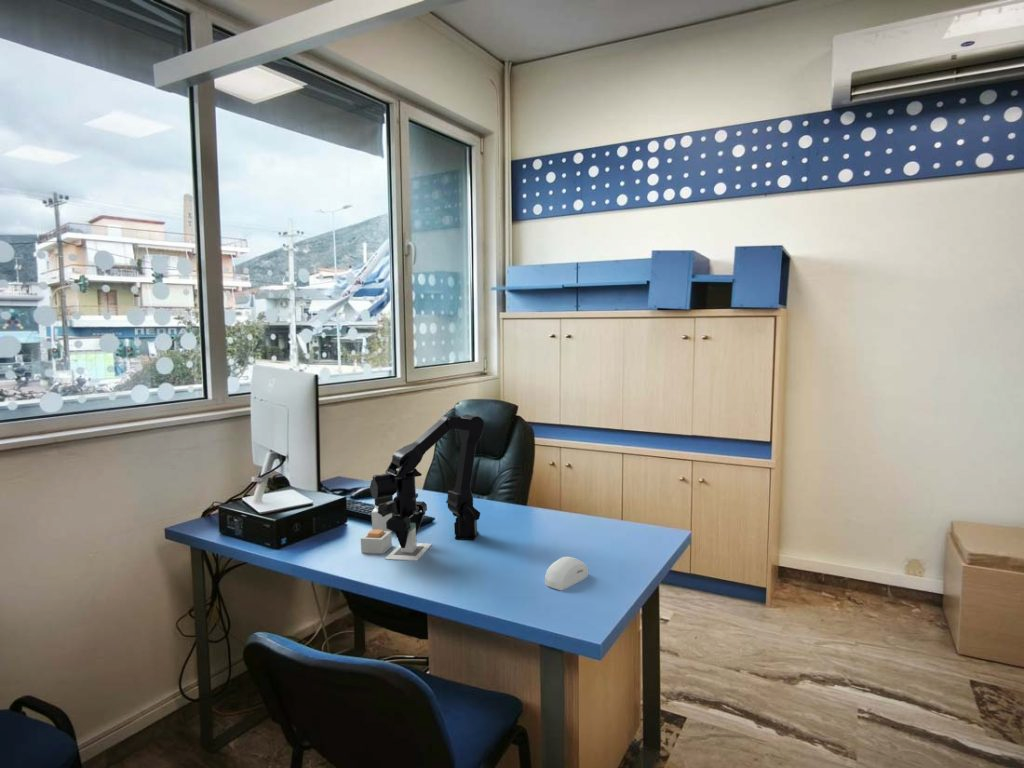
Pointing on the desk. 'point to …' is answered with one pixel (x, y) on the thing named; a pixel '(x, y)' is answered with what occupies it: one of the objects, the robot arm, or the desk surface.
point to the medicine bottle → (377, 519)
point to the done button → (375, 533)
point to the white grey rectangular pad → (414, 556)
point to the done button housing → (376, 543)
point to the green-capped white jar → (411, 540)
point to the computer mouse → (565, 573)
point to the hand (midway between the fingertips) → (408, 542)
